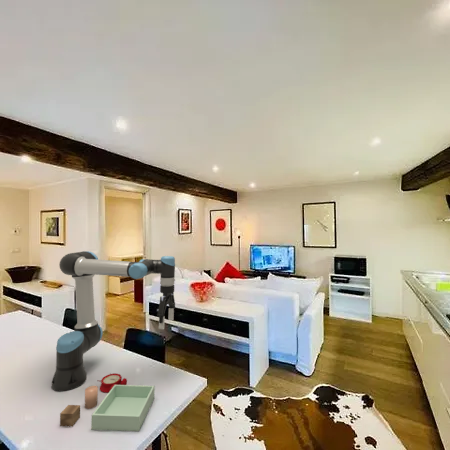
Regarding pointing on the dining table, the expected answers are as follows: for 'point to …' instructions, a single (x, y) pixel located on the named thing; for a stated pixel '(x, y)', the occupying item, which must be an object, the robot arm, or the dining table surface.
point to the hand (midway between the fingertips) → (166, 324)
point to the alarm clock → (111, 382)
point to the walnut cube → (70, 415)
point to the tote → (123, 408)
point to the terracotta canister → (91, 397)
